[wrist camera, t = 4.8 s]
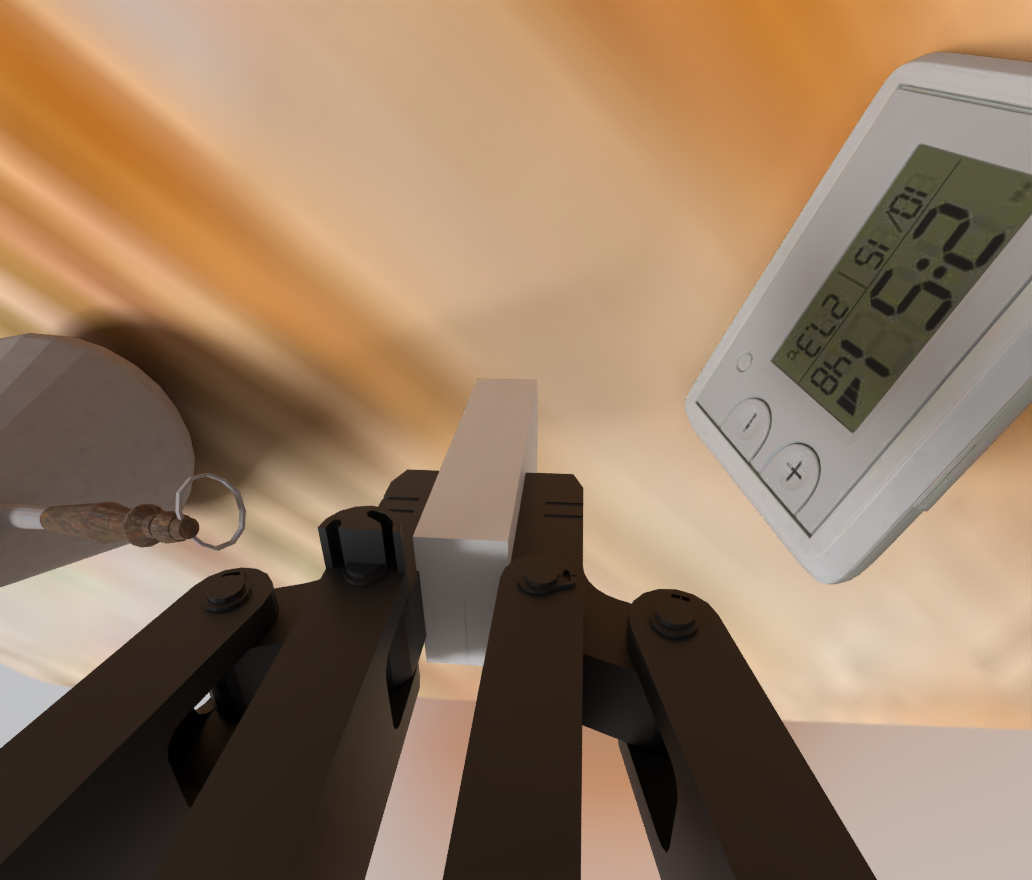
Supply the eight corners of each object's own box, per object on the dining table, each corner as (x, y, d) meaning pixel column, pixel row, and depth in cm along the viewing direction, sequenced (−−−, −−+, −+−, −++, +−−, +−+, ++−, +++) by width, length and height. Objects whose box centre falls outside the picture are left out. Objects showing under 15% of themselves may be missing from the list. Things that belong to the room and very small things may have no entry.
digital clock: (922, 22, 22) (1175, -38, 12) (1088, 182, 23) (1417, 235, 14) (624, 370, 29) (642, 498, 20) (768, 472, 31) (847, 634, 21)
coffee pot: (95, 527, 37) (-177, 763, 24) (-41, 351, 32) (-478, 526, 19) (422, 442, 32) (306, 682, 19) (320, 217, 27) (65, 327, 14)
